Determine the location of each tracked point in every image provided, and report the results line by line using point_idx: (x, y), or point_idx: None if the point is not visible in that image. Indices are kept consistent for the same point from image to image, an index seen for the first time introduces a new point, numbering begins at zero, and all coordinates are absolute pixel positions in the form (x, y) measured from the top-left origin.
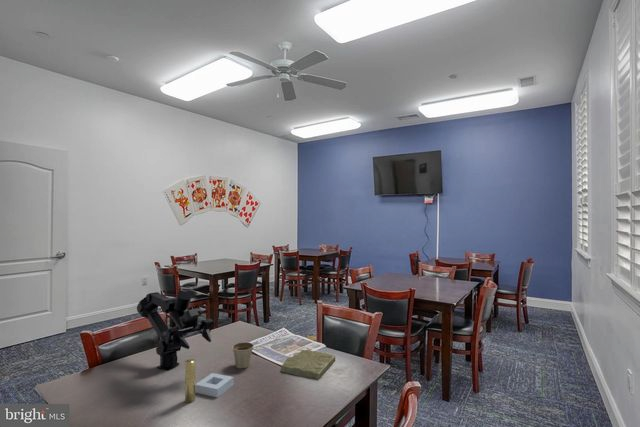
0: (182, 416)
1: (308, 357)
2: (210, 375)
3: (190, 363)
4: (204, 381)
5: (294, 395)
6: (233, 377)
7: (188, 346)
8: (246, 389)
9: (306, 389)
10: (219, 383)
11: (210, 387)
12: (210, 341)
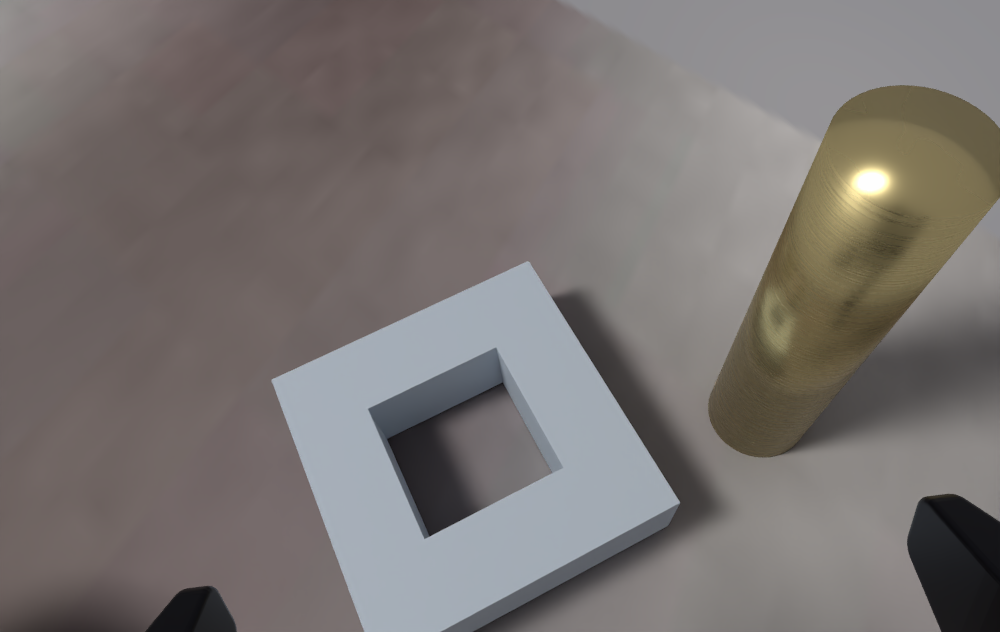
0: None
1: None
2: (432, 605)
3: (925, 92)
4: (562, 497)
5: (131, 29)
6: (273, 382)
7: (964, 504)
8: (278, 269)
9: (22, 39)
10: (457, 346)
11: (567, 330)
12: (215, 605)
